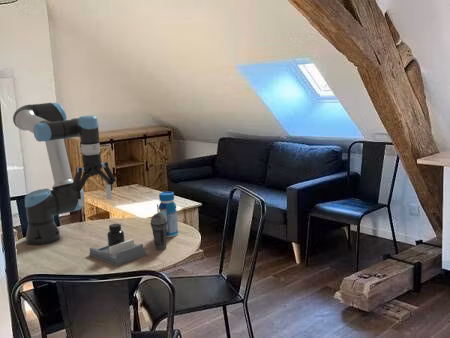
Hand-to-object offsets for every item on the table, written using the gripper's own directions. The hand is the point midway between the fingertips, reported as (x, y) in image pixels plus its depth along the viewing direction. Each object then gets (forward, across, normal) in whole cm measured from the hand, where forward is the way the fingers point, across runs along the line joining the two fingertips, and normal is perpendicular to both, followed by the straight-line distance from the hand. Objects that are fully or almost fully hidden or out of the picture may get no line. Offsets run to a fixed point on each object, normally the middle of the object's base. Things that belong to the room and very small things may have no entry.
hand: (95, 202), depth 206 cm
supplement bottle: (+21, +2, -11) cm, 23 cm away
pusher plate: (+20, +1, -15) cm, 25 cm away
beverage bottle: (+22, +32, -10) cm, 39 cm away
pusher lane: (+21, +2, -11) cm, 24 cm away
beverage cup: (+21, +17, -20) cm, 34 cm away
